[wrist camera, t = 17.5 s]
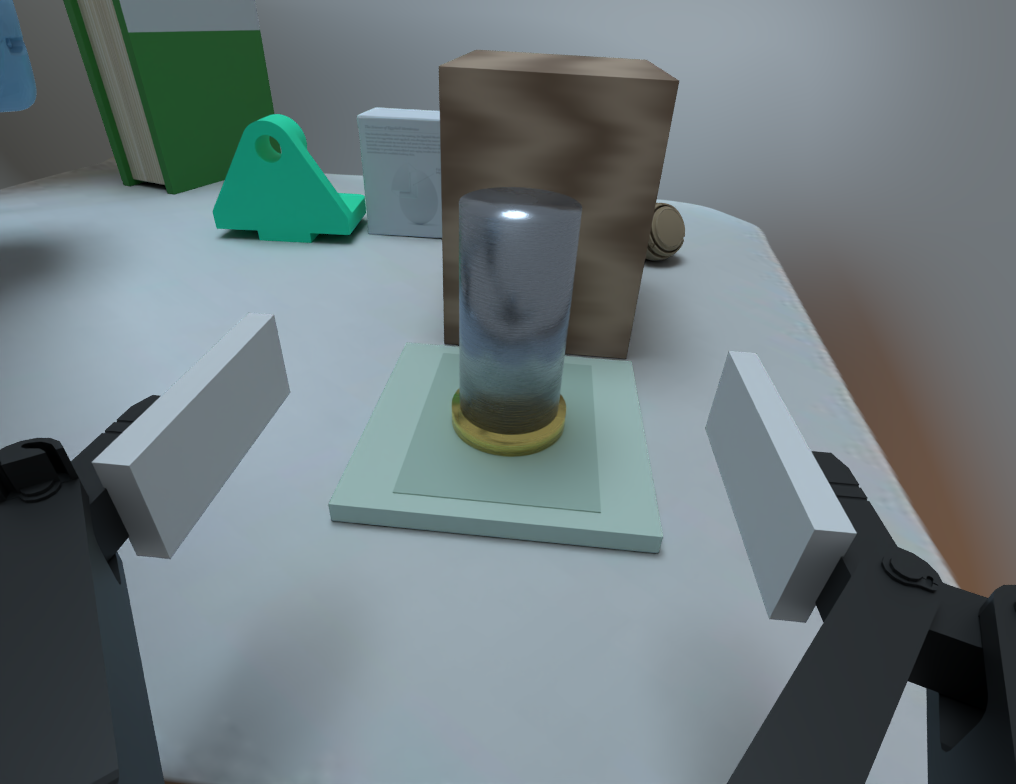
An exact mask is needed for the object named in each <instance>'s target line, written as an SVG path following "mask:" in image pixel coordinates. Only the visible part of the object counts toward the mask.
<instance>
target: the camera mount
mask: <svg viewBox="0 0 1016 784" xmlns="http://www.w3.org/2000/svg"><path fill="white" fill-rule="evenodd" d="M269 136H271V137H273V138H274V139H276V140H277V141H278V143H279V144H280V147H281V150H282V154H280V153H278V152H276V151H275V150H274V149H273V148H272V146H271V144H270V141H269ZM365 214H366V206H365V196H363V195H360V194H345V193H337V191H336V190H335V188H334V187H333V186H332V184H331V183H330V181H329V180H328V179H327V177H326V176H325V174H324V173H323V172H322V170H321V169H320V167H319V166H318V165H317V163H316V162H315V160H314V159H313V158H312V156H311V155H310V153H309V152H308V151H307V142H306V138H305V135H304V133H303V131H302V129H301V128H300V127H299V125H298V124H297V123H295V121H293V120H292V119H290V118H289V117H287V116H284V115H280V114H272V115H269V116H266V117H264V118H262V119H259V120H257V121H255V122H253V123H251V124H249V125H248V126H247V127H246V128H245V130H244V132H243V134H242V137H241V139H240V142H239V145H238V147H237V150H236V152H235V155H234V157H233V160H232V163H231V165H230V168H229V170H228V173H227V176H226V178H225V181H224V183H223V186H222V188H221V191H220V194H219V196H218V199H217V201H216V204H215V206H214V209H213V215H214V219H215V223H216V227H217V229H237V230H258V234H259V239H260V240H264V241H284V242H304V243H312V241H313V240H314V239H315V238H316V237H317V236H318V235H319V234H339V235H350V234H351V233H352V231H353V230H354V229H355V227H356V226H357V225H358V223H359V222H360V220H361V219H362V218H363V216H364V215H365Z"/></svg>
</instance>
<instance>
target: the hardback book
mask: <svg viewBox="0 0 1016 784" xmlns="http://www.w3.org/2000/svg"><path fill="white" fill-rule="evenodd" d="M63 1H64V4H65V7H66V10H67V13H68V17H69V20H70V23H71V26H72V29H73V32H74V34H75V38H76V41H77V44H78V47H79V50H80V53H81V56H82V59H83V62H84V65H85V68H86V71H87V75H88V77H89V81H90V84H91V87H92V90H93V93H94V96H95V99H96V102H97V105H98V108H99V111H100V114H101V117H102V120H103V123H104V126H105V130H106V133H107V136H108V138H109V142H110V145H111V148H112V151H113V154H114V157H115V160H116V163H117V166H118V169H119V172H120V175H121V178H122V181H123V184H124V185H125V186H133V185H137V184H141V183H145V182H152V183H158V184H163V185H165V186H166V190H167V193H168V194H173V195H174V194H178V193H181V192H185V191H188V190H192V189H195V188H198V187H202V186H205V185H209V184H212V183H216V182H219V181H222V180H225V178H226V176H227V173H228V170H229V168H230V165H231V163H232V160H233V157H234V155H235V152H236V150H237V147H238V145H239V142H240V139H241V137H242V134H243V132H244V130H245V128H246V127H247V126H248V125H249V124H251V123H253V122H255V121H257V120H259V119H262V118H264V117H266V116H269V115H272V114H274V110H273V103H272V97H271V91H270V86H269V80H268V74H267V68H266V62H265V57H264V51H263V44H262V38H261V33H260V27H259V21H258V15H257V9H256V3H255V0H63ZM269 141H270V144H271V146H272V148H273V149H274V150H275V151H276V152H278V153H280V154H281V151H280V144H279V143H278V141H277V140H276V139H274V138H273V137H271V136H269Z"/></svg>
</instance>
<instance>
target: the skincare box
mask: <svg viewBox="0 0 1016 784" xmlns="http://www.w3.org/2000/svg"><path fill="white" fill-rule="evenodd" d="M357 123H358V128H359V137H360V147H361V157H362V167H363V178H364V189H365V199H366V208H367V217H368V223H367V226H368V233H369V234H376V235H397V236H414V237H431V238H442V201H441V151H440V111H428V110H411V109H392V108H374V109H371V110H369V111H366V112H364V113H362V114H360V115H358V116H357Z"/></svg>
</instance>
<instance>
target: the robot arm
mask: <svg viewBox="0 0 1016 784" xmlns="http://www.w3.org/2000/svg"><path fill="white" fill-rule="evenodd" d="M35 99H36V85H35V80H34V75H33V71H32V67H31V63H30V60H29V56H28V53H27V50H26V47H25V44H24V42H23V36H22V33H21V29H20V24H19V20H18V17H17V14H16V10H15V7H14V3H13V0H0V112H8V111H20V110H24V109H27V108H29V107H30V106H31V105H32V104H33V103H34V101H35ZM289 394H290V389H289V384H288V379H287V374H286V370H285V365H284V360H283V355H282V350H281V346H280V341H279V336H278V331H277V326H276V322H275V317H274V315H272V314H260V313H248V314H247V315H245V316H244V317H243V318H242V319H241V320H240V321H239V322H238V323H237V324H236V325H235V326H234V327H233V328H232V329H231V330H230V331H229V332H228V333H227V334H226V335H224V336H223V337H222V338H221V339H220V340H219V341H218V342H217V343H216V344H215V345H214V346H213V347H212V348H211V349H210V350H209V351H208V352H207V353H206V354H205V355H203V356H202V357H201V358H200V359H199V360H198V361H197V362H196V363H195V364H194V365H193V366H192V367H191V368H190V369H189V370H188V371H187V372H186V373H185V374H184V375H183V376H181V377H180V378H179V379H178V380H177V381H176V382H175V383H174V384H173V385H172V386H171V387H170V388H169V389H168V390H167V391H166V392H165V393H164V394H163V395H162V396H157V395H152V396H150V397H148V398H146V399H144V400H142V401H140V402H139V403H137V404H135V405H133V406H131V407H130V408H129V409H128V410H127V411H126V412H125V413H124V414H123V415H121V416H120V417H119V418H118V419H117V422H114V423H113V424H112V425H110V426H109V427H108V428H107V429H106V430H105V433H102V434H101V435H100V436H98V437H97V438H96V439H95V440H94V441H93V442H92V443H91V444H90V445H89V446H87V447H86V448H85V449H84V450H83V451H82V452H81V453H80V454H79V455H78V456H76V457H75V458H74V459H73V460H72V461H70V459H69V457H68V456H67V454H66V452H65V450H64V448H63V446H62V445H61V443H60V441H57V440H54V439H51V438H34V439H29V440H24V441H20V442H17V443H14V444H12V445H9V446H6V447H4V448H3V449H1V450H0V784H165V783H164V778H163V773H162V768H161V762H160V757H159V752H158V747H157V741H156V736H155V731H154V726H153V721H152V715H151V710H150V705H149V700H148V694H147V689H146V684H145V679H144V673H143V668H142V663H141V658H140V653H139V647H138V642H137V637H136V632H135V626H134V621H133V616H132V611H131V605H130V600H129V595H128V590H127V584H126V579H125V574H124V569H123V564H122V560H121V558H120V556H119V554H118V552H117V551H118V549H119V548H120V547H121V546H122V545H123V543H124V542H125V541H126V540H127V539H128V538H129V540H130V542H131V544H132V546H133V548H134V550H135V552H136V554H137V556H147V557H157V558H167V559H171V557H172V556H173V555H174V553H175V552H176V550H177V549H178V548H179V546H180V545H181V543H182V542H183V541H184V539H185V538H186V537H187V535H188V534H189V532H190V531H191V530H192V528H193V527H194V525H195V524H196V523H197V521H198V520H199V518H200V517H201V516H202V514H203V513H204V512H205V510H206V509H207V507H208V506H209V505H210V503H211V502H212V500H213V499H214V498H215V496H216V495H217V494H218V492H219V491H220V489H221V488H222V487H223V485H224V484H225V482H226V481H227V480H228V478H229V477H230V475H231V474H232V473H233V471H234V470H235V469H236V467H237V466H238V464H239V463H240V462H241V460H242V459H243V457H244V456H245V455H246V453H247V452H248V450H249V449H250V448H251V446H252V445H253V444H254V442H255V441H256V439H257V438H258V437H259V435H260V434H261V432H262V431H263V430H264V428H265V427H266V425H267V424H268V423H269V421H270V420H271V419H272V417H273V416H274V414H275V413H276V412H277V410H278V409H279V407H280V406H281V405H282V403H283V402H284V400H285V399H286V398H287V396H288V395H289ZM705 429H706V432H707V435H708V438H709V441H710V444H711V447H712V450H713V453H714V456H715V459H716V462H717V465H718V468H719V471H720V474H721V477H722V480H723V483H724V486H725V489H726V492H727V495H728V498H729V501H730V504H731V507H732V510H733V513H734V516H735V519H736V521H737V524H738V527H739V530H740V533H741V536H742V539H743V542H744V545H745V548H746V551H747V554H748V557H749V560H750V563H751V566H752V569H753V572H754V575H755V578H756V581H757V584H758V587H759V590H760V593H761V596H762V599H763V602H764V605H765V608H766V611H767V614H768V617H769V619H775V620H785V621H795V622H805V623H806V622H807V620H808V618H809V616H810V615H811V613H812V611H813V609H814V608H815V606H817V608H818V611H819V613H820V615H821V618H822V620H823V622H824V623H823V625H822V626H821V628H820V630H819V631H818V633H817V635H816V636H815V638H814V640H813V641H812V643H811V645H810V646H809V648H808V650H807V651H806V653H805V655H804V656H803V658H802V660H801V661H800V663H799V664H798V666H797V668H796V669H795V671H794V673H793V674H792V676H791V678H790V679H789V681H788V683H787V684H786V686H785V688H784V689H783V691H782V693H781V694H780V696H779V698H778V699H777V701H776V703H775V704H774V706H773V708H772V709H771V711H770V713H769V714H768V716H767V718H766V719H765V721H764V723H763V724H762V726H761V728H760V729H759V731H758V733H757V734H756V736H755V738H754V739H753V741H752V743H751V744H750V746H749V748H748V749H747V751H746V753H745V754H744V756H743V758H742V759H741V761H740V763H739V764H738V766H737V768H736V769H735V771H734V773H733V774H732V776H731V778H730V779H729V781H728V782H727V784H865V782H866V780H867V777H868V775H869V772H870V770H871V768H872V765H873V763H874V760H875V758H876V756H877V753H878V751H879V748H880V746H881V743H882V741H883V739H884V736H885V734H886V731H887V729H888V727H889V724H890V722H891V719H892V717H893V715H894V712H895V710H896V707H897V705H898V703H899V700H900V698H901V695H902V693H903V691H904V688H905V686H906V683H907V681H909V682H912V683H914V684H917V685H920V686H922V687H925V688H926V690H927V752H928V784H1016V585H1003V586H1001V587H999V588H997V589H996V590H995V591H994V592H993V593H992V594H991V596H990V597H989V598H986V597H983V596H980V595H977V594H974V593H971V592H968V591H965V590H962V589H959V588H956V587H953V586H950V585H947V584H945V583H943V582H942V580H941V579H940V577H939V575H938V573H937V572H936V571H935V570H934V569H933V568H932V567H931V566H930V565H929V564H928V563H927V562H926V561H924V560H922V559H921V558H919V557H918V556H916V555H915V554H913V553H911V552H909V551H906V550H904V549H901V548H899V547H897V545H896V544H895V542H894V540H893V539H892V537H891V536H890V534H889V532H888V531H887V529H886V527H885V526H884V524H883V523H882V521H881V519H880V518H879V516H878V515H877V513H876V511H875V510H874V508H873V506H872V505H871V503H870V502H869V501H867V497H866V495H865V494H864V492H863V490H862V489H861V488H859V484H858V482H857V481H856V479H855V477H854V476H853V474H852V473H851V471H850V469H849V468H848V467H847V466H846V465H845V464H843V463H842V462H841V461H840V460H839V459H837V458H836V457H835V456H834V455H833V454H832V453H826V452H815V451H811V450H810V448H809V447H808V445H807V443H806V441H805V439H804V438H803V436H802V434H801V432H800V431H799V429H798V427H797V425H796V423H795V422H794V420H793V418H792V416H791V414H790V413H789V411H788V409H787V407H786V405H785V404H784V402H783V400H782V398H781V396H780V395H779V393H778V391H777V389H776V387H775V386H774V384H773V382H772V380H771V379H770V377H769V375H768V373H767V371H766V370H765V368H764V366H763V364H762V362H761V361H760V359H759V357H758V355H757V353H748V352H735V351H729V352H728V355H727V359H726V362H725V365H724V368H723V372H722V375H721V378H720V381H719V385H718V388H717V391H716V395H715V398H714V401H713V404H712V408H711V411H710V414H709V417H708V421H707V424H706V427H705Z"/></svg>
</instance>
